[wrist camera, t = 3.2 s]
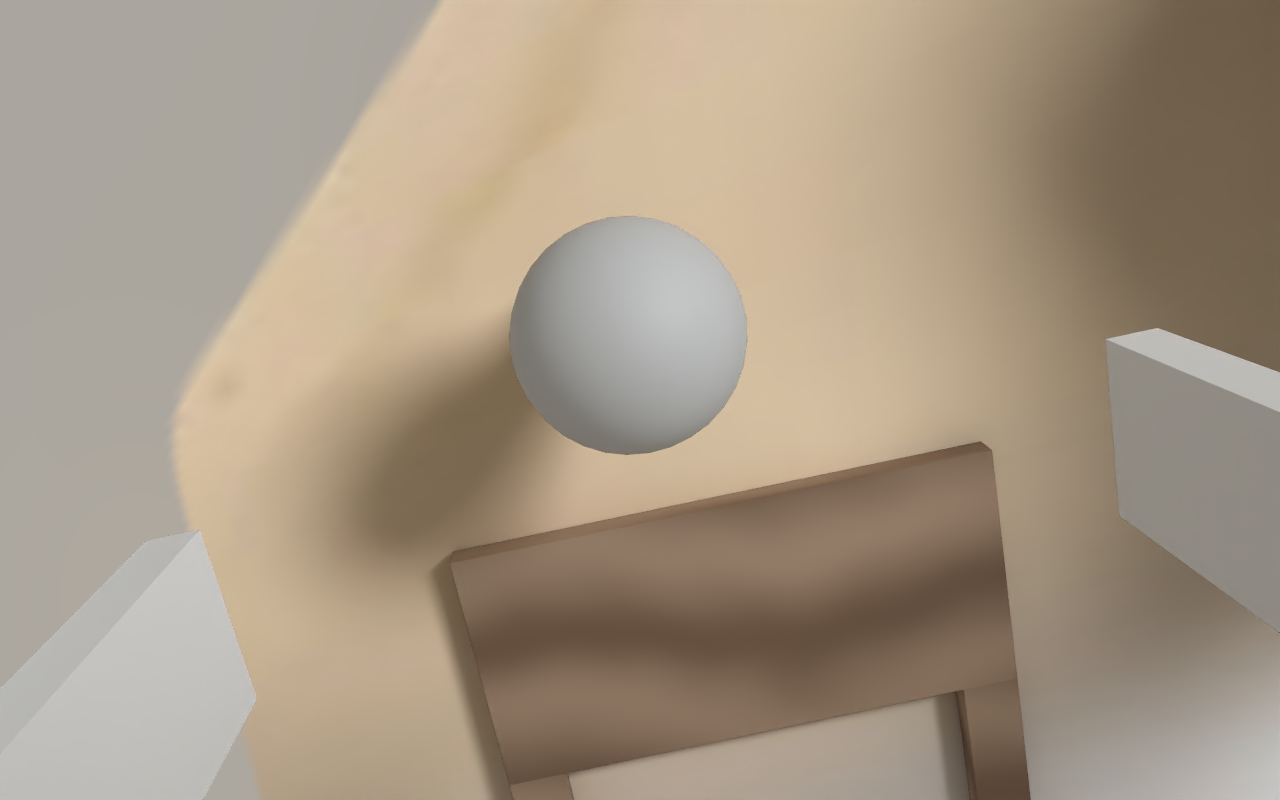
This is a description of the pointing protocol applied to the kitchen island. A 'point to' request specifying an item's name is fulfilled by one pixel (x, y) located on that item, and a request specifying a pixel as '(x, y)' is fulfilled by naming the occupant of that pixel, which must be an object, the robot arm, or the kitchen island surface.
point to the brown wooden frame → (751, 621)
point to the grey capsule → (628, 335)
